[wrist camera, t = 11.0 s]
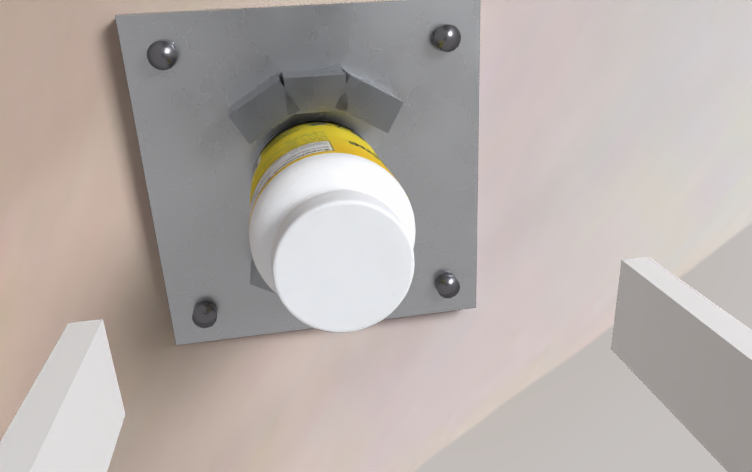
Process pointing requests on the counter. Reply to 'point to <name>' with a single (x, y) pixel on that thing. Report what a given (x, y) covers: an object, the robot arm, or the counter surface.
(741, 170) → the counter surface
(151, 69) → the collar
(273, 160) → the pill bottle
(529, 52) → the counter surface
